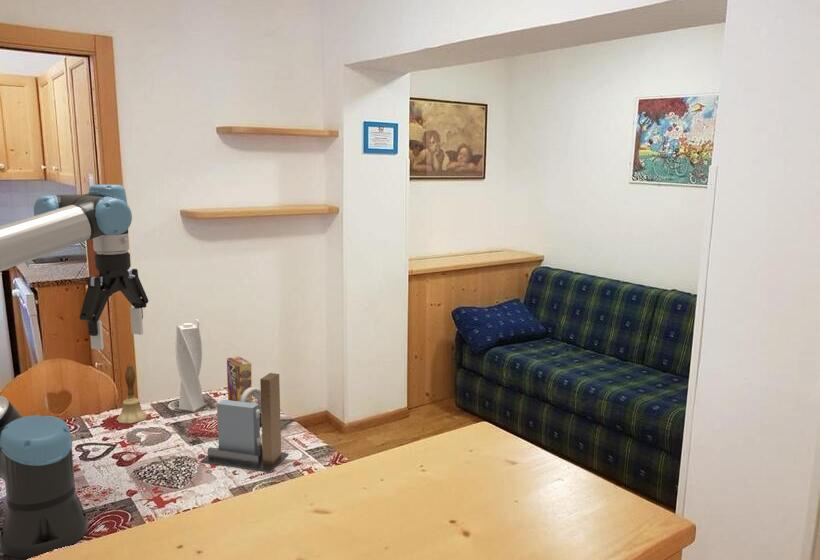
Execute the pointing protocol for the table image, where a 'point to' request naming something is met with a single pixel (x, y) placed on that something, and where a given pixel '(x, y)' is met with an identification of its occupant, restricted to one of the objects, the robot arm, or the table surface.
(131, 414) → the hand bell
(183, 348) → the skyscraper
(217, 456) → the base
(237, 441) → the door panel
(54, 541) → the robot arm
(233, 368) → the candy box
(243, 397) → the watch
